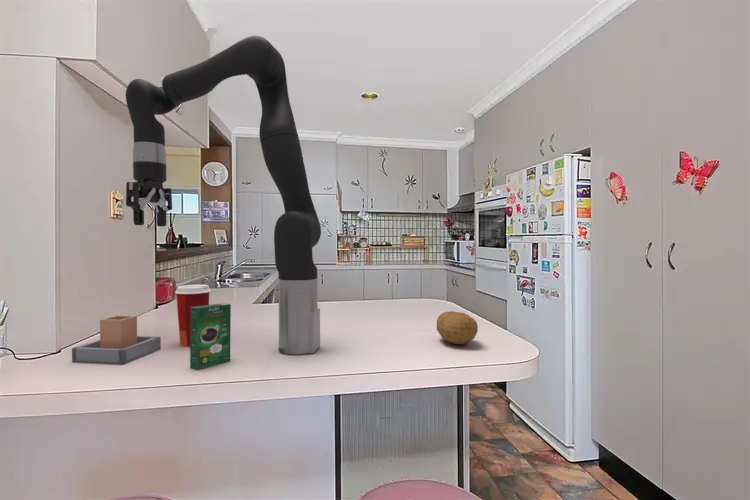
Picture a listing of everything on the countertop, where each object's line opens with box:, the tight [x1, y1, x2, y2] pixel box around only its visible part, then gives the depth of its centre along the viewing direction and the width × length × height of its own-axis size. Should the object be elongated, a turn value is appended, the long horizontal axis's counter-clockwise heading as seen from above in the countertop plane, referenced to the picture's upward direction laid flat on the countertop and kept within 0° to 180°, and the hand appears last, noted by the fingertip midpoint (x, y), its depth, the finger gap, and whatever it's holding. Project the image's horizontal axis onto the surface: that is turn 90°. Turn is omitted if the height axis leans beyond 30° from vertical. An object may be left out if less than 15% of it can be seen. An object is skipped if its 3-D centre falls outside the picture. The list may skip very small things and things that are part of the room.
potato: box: [436, 310, 479, 345], centre depth 106 cm, size 10×14×8 cm
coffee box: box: [189, 302, 232, 371], centre depth 86 cm, size 8×3×13 cm, turn 144°
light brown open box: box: [99, 315, 138, 349], centre depth 93 cm, size 5×5×8 cm
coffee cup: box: [174, 284, 212, 348], centre depth 103 cm, size 8×8×15 cm
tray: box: [71, 335, 162, 366], centre depth 93 cm, size 12×12×4 cm
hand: (150, 225), depth 106 cm, fingers open, 8 cm apart
